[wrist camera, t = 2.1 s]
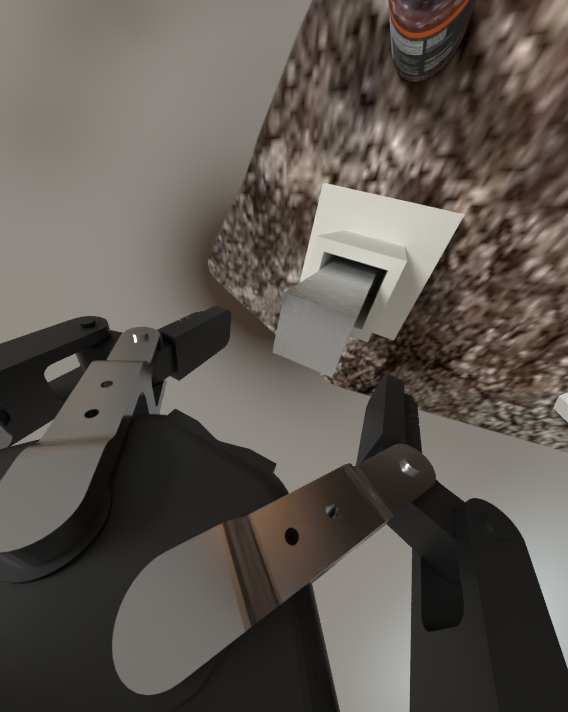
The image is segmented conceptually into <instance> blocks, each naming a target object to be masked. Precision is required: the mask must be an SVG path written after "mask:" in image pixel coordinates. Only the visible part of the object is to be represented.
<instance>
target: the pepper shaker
mask: <svg viewBox="0 0 568 712" xmlns="http://www.w3.org/2000/svg"><path fill="white" fill-rule="evenodd" d="M553 409H554V410H555V411H556V412H558V413H559V414H560V415H561V416H562V417H563V418H564V419H565V420H566V421H567V422H568V392H567V393H565V394H562V395H559V397H558V399H557V401H556V403H555V405H554V408H553Z"/></svg>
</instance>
